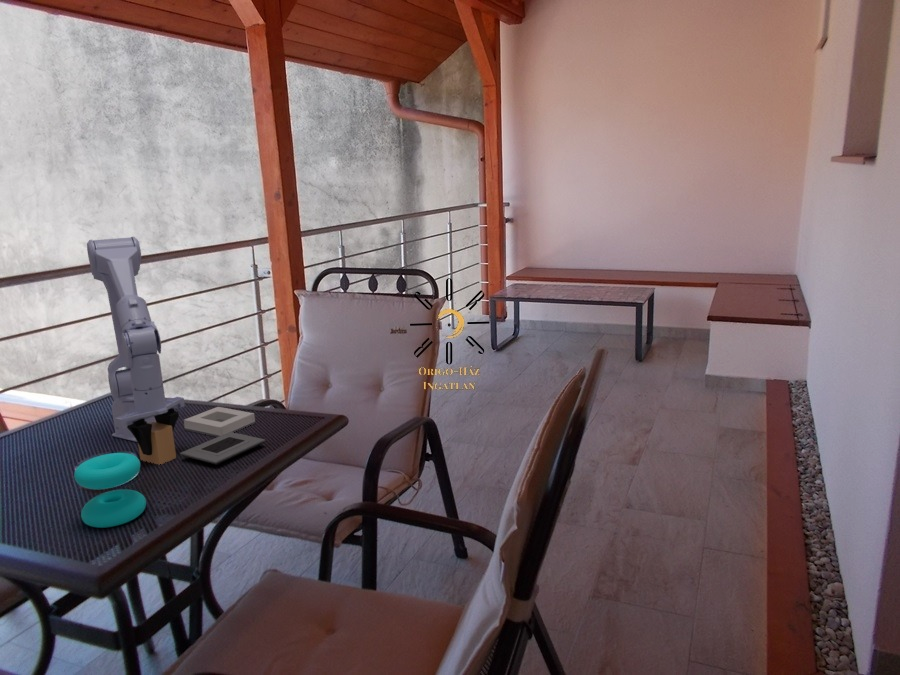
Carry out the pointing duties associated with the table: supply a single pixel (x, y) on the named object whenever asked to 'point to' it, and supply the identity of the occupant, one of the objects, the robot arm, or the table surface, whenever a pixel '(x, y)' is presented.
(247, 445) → the electrical outlet
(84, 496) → the table surface
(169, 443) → the plug
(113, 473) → the donuts
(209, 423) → the socket block
